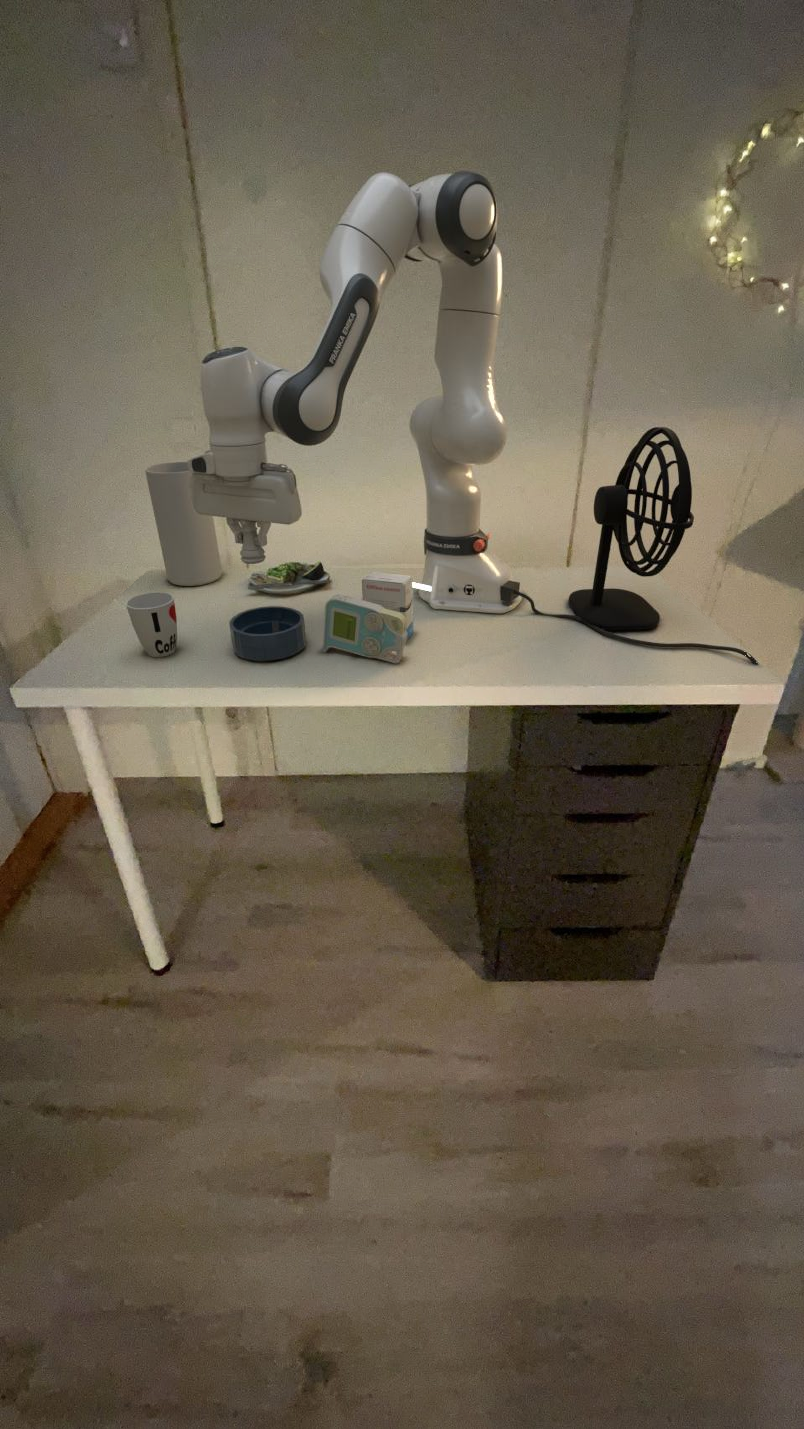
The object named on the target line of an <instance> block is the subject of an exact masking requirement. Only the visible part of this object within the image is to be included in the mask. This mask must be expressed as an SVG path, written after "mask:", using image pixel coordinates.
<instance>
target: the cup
mask: <svg viewBox="0 0 804 1429" xmlns="http://www.w3.org/2000/svg"><path fill="white" fill-rule="evenodd" d="M175 604H176V603H175V597H174V595H173V594H171V593H169V592H165V591H164V592H163V591H155V592H153V591H152V592H145V593H141V594H137V595H134V596H132V597H130V598H129V599H127V600H126V601H125V606H126V609H127V612H128V616H129V619H130V622H131V625H132V627H133V631H134V632H135V634H136V636H137V639H138V641H139V643H140V645H141V647H142V648H143V649H144V651H145V653H146V654H147V655H148V656H149V657H153V658H163V657H166V656H170V655H172V654H173V653H175V652H176V649H177V644H178V643H177V642H178V618H177V610H176V605H175Z"/></svg>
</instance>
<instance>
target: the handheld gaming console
mask: <svg viewBox="0 0 804 1429" xmlns="http://www.w3.org/2000/svg"><path fill="white" fill-rule="evenodd" d="M324 608H325V609H324V623H323V624H324V625H323V641H322V642H323V643H322V652H323V653H327V652H328V651H329V650H330V649H331V648H334V649H339V650H342V651H344V652H349V653H351V654H355V655H357V656H358V655H359V656H363V657H365V658H371V659H373V658H375V659H378V660H381V661H386V662H389V663H392V664H399V663H400V661H401V660H402V658H403V657H404V648H405V645H406V643H407V642H408V640H407V634H408V633H407V631H406V627H407V620H406V618H405V616H404V615H403V614H401V613H399V612H396V611H392V610H389V609H385V608H384V607H382V606H381V605H378V604H375V603H371V602H367V601H364V600H363V599H359V598H356V597H352V596H348V595H345V594H336V595H333V596H332V597H331V598H330V599H328V600H327V602H325V607H324ZM392 652H395V653H392Z"/></svg>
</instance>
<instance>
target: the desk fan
mask: <svg viewBox="0 0 804 1429" xmlns="http://www.w3.org/2000/svg"><path fill="white" fill-rule="evenodd" d="M660 434H662V435H663V436H664V437H665V438H666V439H667V440H661V441H659V442H655V441H653V439H654V438H655V437H657V436H658V435H660ZM681 443H682V442H681V440H680V438H679V436H678V435H677V433H675V431H674V430H672V429H670V428H669V427H665V426H655V427H651V428H650V429H648V430H647V431H645V433H643V435H642V436H641V437H640V439H639V440H638V442H637V443H636V445H635V446H633V448H631V451H630V452H629V454H628V456H627V457H626V460H625V462H624V465H623V466H622V468H621V469H620V471H619V473H618V475H617V478H616V481H615V484H613V485H603V486H600V487H599V488H598V489H597V490H596V492H595V496H594V499H593V500H594V501H593V517H594V521H595V522H596V524H597V525H601V530H600V535H599V536H600V538H599V543H598V550H597V556H596V562H595V569H594V570H595V571H594V576H593V583H592V588H587V589H586V588H585V589H578V590H575V591H573V592H571V593H570V594H569V596H568V605H569V606H570V607H571V608H572V610H573V611H574V612H575V614H576V616H578V617H580V618H581V619H582V621H583V622H585V623H587V624H588V625H587V624H586V625H587V626H589V625H594V626H597V627H599V628H600V629H602V630H605V631H635V630H636V631H638V630H649V629H653V628H655V627H657V626H658V625H659V624H660V620H661V615H660V614H659V612H658V610H657V609H655V608H654V606H652V605H651V604H650V603H649V602H648V601H647V600H646V599H645V598H644V597H643V596H641V595H640V594H638V593H636V592H633V591H631V590H626V589H622V588H615V587H614V588H612V587H611V588H605V585H606V578H607V573H608V565H609V559H610V553H611V548H612V547H611V546H612V540H613V536H614V538H615V540H616V542H617V545H618V551H619V555H620V559H621V561H622V562H623V565H624V566H625V567H626V569H628V571H630V572H631V573H633V574H636V575H637V576H639V577H644V578H645V577H646V578H647V577H648V578H649V577H654V576H657V575H658V574H660V573H661V572H662V571H664V569H665V568H666V567H667V565H668V564H669V562H670V561H671V559H672V557H673V556H674V555H675V553H676V552H677V550H678V548H679V547H680V545H681V543H682V540H683V538H684V534H685V532H686V530H687V529H690V528H691V527H693V524H694V520H695V517H694V514H693V513H692V511H691V509H692V503H693V502H692V501H693V486H692V477H691V469H690V464H689V460H688V457H687V454H686V452H685V450H684V448H683V447H682V444H681ZM667 445H668V446H670V447H671V448H672V450H673V452H674V456H675V460H671V461H669V462H667V460H666V456H665V454H664V451H663V449H662V448H663V447H665V446H667ZM646 446H648V447H650V448H651V450H650V451H649V453H648V454H647V456H646V458H645V460H644V463H643V464H642V465H641V464H640V463H639V462H638V459H639V457H640V456H641V454H642V452H643V451H644V449H645V447H646ZM655 456H656V458H657V460H658V464H659V467H660V468H659V469H660V473H659V474H658V477H657V479H656V481H655V485H654V489H653V492H651V491H648V487H647V479H646V475H647V472H648V469H649V467H650V464H651V463H652V461H653V459H654V457H655ZM675 464H676V466H677V474H678V475H677V476H678V477H677V478H678V484H677V485H676V486H675V488H674V490H673V492H672V494H671V498H670V477H669V468H670V467H671V466H672V465H675ZM635 469H637V471H638V474H639V476H638V479H637V485H636V488H630V487H631V482H632V477H633V473H634V470H635ZM661 484H662V485H661ZM660 485H661V486H662V493H661V494H662V495H661V494H658V492H659V488H660ZM629 495H633V496H634V497H635V498H634V506H633V511H632V510H630V509H629V508H628V505H629ZM641 498H642V499H641ZM648 498H650V499H652V500H651V518H650V517H647V516H646V513H647V504H648ZM641 500H642V502H641ZM657 501H659V502H661V509H660V517H659V520H657V518H656V516H657V514H656V508H657V507H656V505H657ZM669 507H670V508H669ZM640 508H641V509H640ZM640 510H641V512H640ZM669 511H670V516H671V522H667V519H668V518H667V517H668V512H669ZM628 517H630V518H632V519H633V526H634V535H633V537H632V538H631V540H629V532H628V521H627V520H628ZM644 524H646V525H650V526H652V530H653V533H654V539H653V540H652V544H651V546H650V547H649V550H648V551H647V549H646V547H645V544H644V542H643V537H642V530H643V526H644ZM665 529H666V530H668V532H667V534H666V536H665V538H664V539H663V535H664V531H665ZM635 543H636V544H637V549H638V550H639V553H640V554H641V556H642V558H641V559H639V560H635V558H634V555H633V552H632V549H631V546H633V544H635ZM660 544H661V546H660V548H659V550H658V551H657V549H658V547H659V545H660ZM665 549H666V550H665ZM656 551H657V553H656ZM664 551H665V552H664ZM655 553H656V554H655ZM663 553H664V554H663ZM662 554H663V556H662ZM654 555H655V556H654ZM661 556H662V557H661ZM652 557H653V558H652ZM660 557H661V558H660ZM646 563H647V564H646ZM644 564H645V565H644ZM642 565H643V566H642ZM654 565H655V567H653V566H654ZM651 568H653V569H651ZM650 569H651V570H650ZM583 622H582V623H583ZM585 623H584V624H585Z"/></svg>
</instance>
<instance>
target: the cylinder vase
mask: <svg viewBox="0 0 804 1429" xmlns="http://www.w3.org/2000/svg"><path fill="white" fill-rule="evenodd" d="M144 472H145V476H146V481H147V487H148V492H149V496H150V501H151V505H152V510H153V515H154V520H155V524H156V530H157V534H158V539H159V544H160V545H159V546H160V548H161V549H160V550H161V555H162V558H163V564H164V569H165V573H166V578H167V580H168V582H170V583H171V584H173V585H176V586H180V587H195V586H203V585H208V584H211V583H213V582H215V581H217V580H219V579H220V578H221V577H222V575H223V569H222V563H221V557H220V551H219V544H218V538H217V533H216V527H215V520H214V516H208V515H200V514H198V513H197V512H196V510H195V509H194V507H193V504H192V498H191V492H190V476H191V474H192V472H190V471H189V469H188V466H187V461H171V462H163V463H157V464H153V465H149V466H147V467H145V469H144Z"/></svg>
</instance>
